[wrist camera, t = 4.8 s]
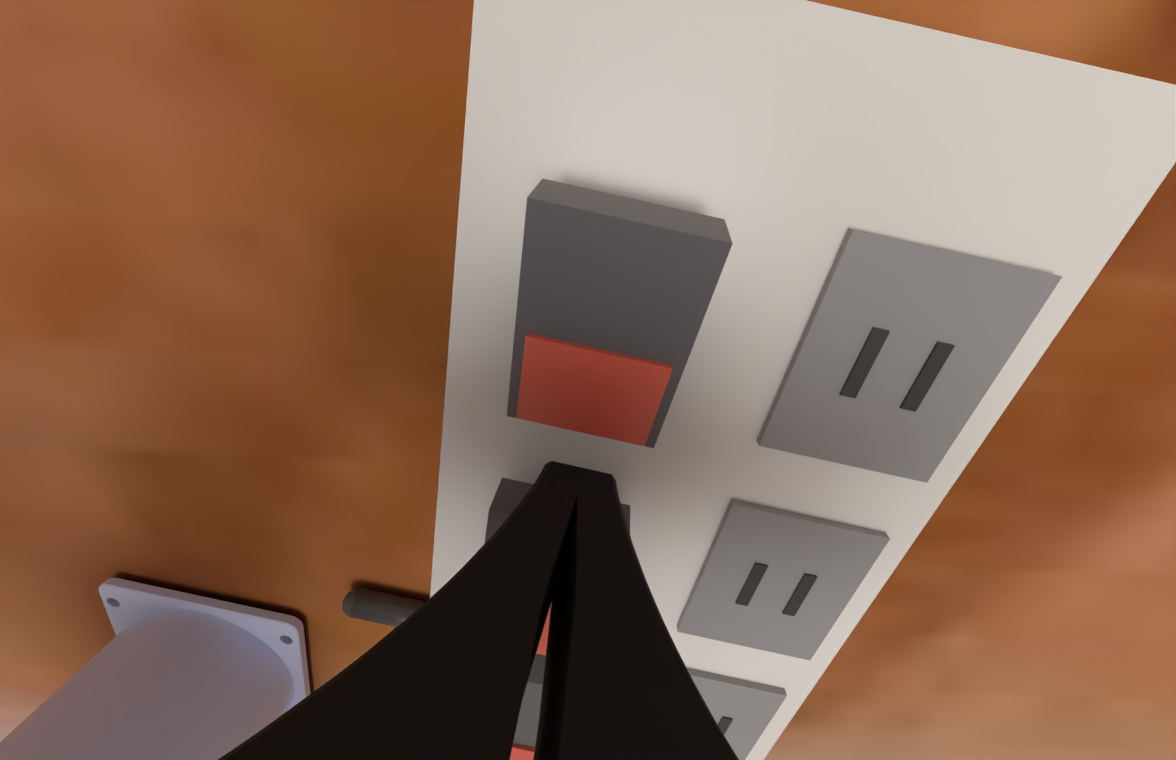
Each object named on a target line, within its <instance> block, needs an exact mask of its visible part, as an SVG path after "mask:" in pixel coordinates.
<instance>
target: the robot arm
mask: <svg viewBox="0 0 1176 760" xmlns="http://www.w3.org/2000/svg"><path fill="white" fill-rule="evenodd" d="M99 593H100V596H101V598H102V601H103V604H104V606H105V609H106V611H107V614H108V617H109V619H110V622H111V625H112V627H113V630H114V632H115V635H116V637H115V638H113V639H112V640H111V641H110V642H109V643H108V644H107V645H106V646H105V647H104V648H103V649H101V650H100V651H99V652H98V653H97V654H96V655H95V656H94V657H93V658H92V659H91V660H89V661H88V662H87V663H86V664H85V665H84V666H83V667H82V668H81V669H80V670H79V671H77V672H76V673H75V674H74V675H73V676H72V677H71V678H70V679H69V680H68V681H67V682H65V683H64V684H63V685H62V686H61V687H60V688H59V689H58V690H57V691H56V692H55V693H53V694H52V695H51V696H50V697H49V698H48V699H47V700H46V701H45V702H44V703H43V704H41V705H40V706H39V707H38V708H37V709H36V710H35V711H34V712H33V713H32V714H31V715H29V716H28V717H27V718H26V719H25V720H24V721H23V722H22V723H21V724H20V725H19V726H17V727H16V728H15V729H14V730H13V731H12V732H11V733H10V734H9V735H8V736H7V737H5V738H4V739H3V740H2V741H1V742H0V760H510V756H511V751H512V746H513V741H514V736H515V732H516V727H517V722H518V717H519V713H520V708H521V703H522V699H523V696H524V693H525V689H526V686H527V682H528V679H529V676H530V672H531V669H532V666H533V662H534V659H535V655H536V652H537V649H538V645H539V642H540V639H541V635H542V632H543V628H544V625H545V622H546V618H547V615H548V612H549V608H550V605H551V612H550V621H549V631H548V640H547V649H546V659H545V668H544V677H543V687H542V696H541V705H540V715H539V723H538V730H537V737H536V745H535V752H534V757H533V760H739V759H738V757H737V756H736V754H735V752H734V751H733V749H732V747H731V746H730V744H729V743H728V741H727V739H726V738H725V736H724V734H723V733H722V731H721V730H720V728H719V726H718V724H717V723H716V721H715V719H714V717H713V716H712V714H711V712H710V710H709V708H708V707H707V705H706V703H705V701H704V699H703V698H702V696H701V694H700V692H699V690H698V689H697V687H696V685H695V683H694V681H693V679H692V677H691V675H690V674H689V672H688V670H687V668H686V666H685V664H684V662H683V660H682V658H681V656H680V654H679V652H678V650H677V648H676V646H675V644H674V642H673V640H672V638H671V636H670V634H669V632H668V629H667V627H666V625H665V623H664V621H663V619H662V616H661V614H660V612H659V609H658V607H657V605H656V602H655V600H654V598H653V595H652V593H651V591H650V588H649V586H648V583H647V581H646V578H645V576H644V573H643V571H642V568H641V565H640V562H639V560H638V557H637V554H636V551H635V549H634V546H633V543H632V540H631V537H630V534H629V531H628V528H627V525H626V521H625V518H624V515H623V511H622V507H621V504H620V499H619V495H618V490H617V485H616V480H615V478H614V477H613V475H612V474H608V473H604V472H599V471H595V470H591V469H586V468H582V467H577V466H573V465H568V464H564V463H559V462H555V461H550V462H548V463H546V464H545V465H544V467H543V469H542V471H541V473H540V475H539V476H538V478H537V480H536V481H535V483H534V484H533V486H532V487H531V488H530V490H529V491H528V493H527V494H526V495H525V497H524V498H523V499H522V501H521V502H520V503H519V505H518V506H517V507H516V508H515V510H514V511H513V512H512V513H511V514H510V516H509V517H508V518H507V519H506V520H505V522H504V523H503V524H502V525H501V526H500V528H499V529H498V530H497V531H496V532H495V533H494V535H493V536H492V537H491V538H490V539H489V540H488V541H487V542H486V543H485V544H484V545H483V546H482V547H481V548H480V549H479V550H478V552H477V553H476V554H475V555H474V556H473V557H472V558H471V559H470V560H469V561H468V562H467V563H466V564H465V565H464V566H463V567H462V568H461V569H460V570H459V571H458V572H457V573H456V574H455V575H454V576H453V577H452V578H451V579H450V580H449V581H448V582H447V583H446V584H445V585H444V586H443V587H442V588H441V589H439V590H438V591H437V592H436V593H435V594H434V595H433V596H432V597H431V598H430V599H429V600H427V601H426V602H425V603H424V604H423V605H422V606H421V607H420V608H419V609H417V610H416V611H415V612H414V613H413V614H412V615H411V616H409V617H408V618H407V619H406V620H405V621H403V622H402V623H401V624H400V625H399V626H397V627H396V628H395V629H394V630H393V631H391V632H390V633H389V634H388V635H387V636H385V637H384V638H383V639H382V640H381V641H379V642H378V643H377V644H376V645H375V646H373V647H372V648H371V649H370V650H368V651H367V652H366V653H365V654H363V655H362V656H361V657H360V658H358V659H357V660H356V661H354V662H353V663H352V664H351V665H349V666H348V667H347V668H345V669H344V670H343V671H342V672H340V673H339V674H338V675H336V676H335V677H333V678H332V679H331V680H329V681H328V682H327V683H325V684H324V685H322V686H321V687H320V688H318V689H317V690H316V691H314V692H313V693H310V684H309V675H308V665H307V656H306V646H305V637H304V627H303V624H302V622H301V621H300V619H298V618H297V617H295V616H292V615H287V614H283V613H278V612H273V611H269V610H264V609H260V608H255V607H250V606H246V605H241V604H236V603H232V602H227V601H222V600H218V599H213V598H208V597H204V596H199V595H195V594H190V593H185V592H181V591H176V590H171V589H167V588H162V587H157V586H153V585H148V584H143V583H139V582H134V581H129V580H125V579H120V578H109V579H107V580H106V581H105V582H104V583H102V584H101V585H100V586H99ZM551 601H552V603H551Z"/></svg>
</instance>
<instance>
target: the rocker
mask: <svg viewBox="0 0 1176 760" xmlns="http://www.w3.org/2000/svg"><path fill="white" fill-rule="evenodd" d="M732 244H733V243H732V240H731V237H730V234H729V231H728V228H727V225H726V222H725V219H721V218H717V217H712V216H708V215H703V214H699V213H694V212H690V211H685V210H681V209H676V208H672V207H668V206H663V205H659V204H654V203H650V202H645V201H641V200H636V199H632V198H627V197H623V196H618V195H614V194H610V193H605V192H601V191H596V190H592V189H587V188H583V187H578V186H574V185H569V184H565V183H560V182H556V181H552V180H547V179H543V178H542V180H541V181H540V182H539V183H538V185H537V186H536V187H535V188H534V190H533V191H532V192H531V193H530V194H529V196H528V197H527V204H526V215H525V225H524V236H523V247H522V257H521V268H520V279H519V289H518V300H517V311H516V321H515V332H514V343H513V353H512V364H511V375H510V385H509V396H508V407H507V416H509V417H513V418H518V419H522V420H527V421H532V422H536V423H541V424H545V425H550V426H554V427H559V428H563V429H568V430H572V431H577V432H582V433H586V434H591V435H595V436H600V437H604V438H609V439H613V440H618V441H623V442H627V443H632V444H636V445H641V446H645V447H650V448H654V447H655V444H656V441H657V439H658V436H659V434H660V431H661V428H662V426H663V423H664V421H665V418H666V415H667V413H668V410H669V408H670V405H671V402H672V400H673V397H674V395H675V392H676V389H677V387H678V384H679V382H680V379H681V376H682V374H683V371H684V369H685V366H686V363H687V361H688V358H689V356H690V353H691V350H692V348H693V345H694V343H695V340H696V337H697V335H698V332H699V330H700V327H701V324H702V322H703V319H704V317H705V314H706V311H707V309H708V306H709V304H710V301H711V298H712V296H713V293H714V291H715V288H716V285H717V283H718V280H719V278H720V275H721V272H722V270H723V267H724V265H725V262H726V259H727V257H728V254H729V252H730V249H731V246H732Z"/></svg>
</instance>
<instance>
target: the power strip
mask: <svg viewBox="0 0 1176 760" xmlns="http://www.w3.org/2000/svg"><path fill="white" fill-rule="evenodd" d="M1175 162H1176V85H1174V84H1169V83H1165V82H1161V81H1156V80H1152V79H1148V78H1143V77H1139V76H1134V75H1130V74H1126V73H1121V72H1117V71H1112V70H1108V69H1104V68H1099V67H1095V66H1091V65H1086V64H1082V63H1077V62H1073V61H1069V60H1064V59H1060V58H1056V57H1051V56H1047V55H1042V54H1038V53H1034V52H1029V51H1025V50H1021V49H1016V48H1012V47H1007V46H1003V45H999V44H994V43H990V42H986V41H981V40H977V39H972V38H968V37H964V36H959V35H955V34H951V33H946V32H942V31H937V30H933V29H929V28H924V27H920V26H916V25H911V24H907V23H902V22H898V21H894V20H889V19H885V18H881V17H876V16H872V15H867V14H863V13H859V12H854V11H850V10H845V9H841V8H837V7H832V6H828V5H824V4H819V3H815V2H810V1H806V0H474V9H473V22H472V36H471V49H470V63H469V76H468V90H467V104H466V117H465V131H464V144H463V158H462V171H461V185H460V198H459V212H458V225H457V239H456V253H455V266H454V280H453V293H452V307H451V320H450V334H449V347H448V361H447V374H446V388H445V402H444V415H443V429H442V442H441V456H440V469H439V483H438V496H437V510H436V523H435V537H434V551H433V564H432V578H431V591H430V598H431V597H432V596H433V595H434V594H435V593H436V592H437V591H438V590H439V589H441V588H442V587H443V586H444V585H445V584H446V583H447V582H448V581H449V580H450V579H451V578H452V577H453V576H454V575H455V574H456V573H457V572H458V571H459V570H460V569H461V568H462V567H463V566H464V565H465V564H466V563H467V562H468V561H469V560H470V559H471V558H472V557H473V556H474V555H475V554H476V553H477V552H478V550H479V549H480V548H481V547H482V546H483V545H484V543H485V535H486V528H487V520H488V513H489V508H490V506H491V503H492V501H493V498H494V496H495V494H496V491H497V489H498V486H499V484H500V481H501V479H502V477H503V478H507V479H512V480H517V481H521V482H526V483H530V484H534V483H535V481H536V480H537V478H538V476H539V475H540V473H541V471H542V469H543V467H544V465H545V464H546V463H548V462H550V461H555V462H559V463H564V464H568V465H573V466H577V467H582V468H586V469H591V470H595V471H599V472H604V473H608V474H612V475H613V477H614V478H615V480H616V485H617V490H618V495H619V499H620V503H622V504H626V505H630V537H631V540H632V543H633V546H634V549H635V551H636V554H637V557H638V560H639V562H640V565H641V568H642V571H643V573H644V576H645V578H646V581H647V583H648V586H649V588H650V591H651V593H652V595H653V598H654V600H655V602H656V605H657V607H658V609H659V612H660V614H661V616H662V619H663V621H664V623H665V625H666V627H667V629H668V632H669V634H670V636H671V638H672V640H673V642H674V644H675V646H676V648H677V650H678V652H679V654H680V656H681V658H682V660H683V662H684V664H685V666H686V668H687V670H688V672H689V674H690V675H691V677H692V679H693V681H694V683H695V685H696V687H697V689H698V690H699V692H700V694H701V696H702V698H703V699H704V701H705V703H706V705H707V707H708V708H709V710H710V712H711V714H712V716H713V717H714V719H715V721H716V723H717V724H718V726H719V728H720V730H721V731H722V733H723V734H724V736H725V738H726V739H727V741H728V743H729V744H730V746H731V747H732V749H733V751H734V752H735V754H736V756H737V757H738V759H739V760H763V759H764V758H765V757H766V755H767V754H768V752H769V751H770V749H771V748H772V746H773V745H774V744H775V742H776V741H777V739H778V738H779V736H780V735H781V733H782V732H783V730H784V729H785V728H786V726H787V725H788V723H789V722H790V720H791V719H792V717H793V716H794V715H795V713H796V712H797V710H798V709H799V707H800V706H801V704H802V703H803V702H804V700H805V699H806V697H807V696H808V694H809V693H810V691H811V690H812V688H813V687H814V686H815V684H816V683H817V681H818V680H819V678H820V677H821V675H822V674H823V673H824V671H825V670H826V668H827V667H828V665H829V664H830V662H831V661H832V659H833V658H834V657H835V655H836V654H837V652H838V651H839V649H840V648H841V646H842V645H843V644H844V642H845V641H846V639H847V638H848V636H849V635H850V633H851V632H852V630H853V629H854V628H855V626H856V625H857V623H858V622H859V620H860V619H861V617H862V616H863V615H864V613H865V612H866V610H867V609H868V607H869V606H870V604H871V603H872V601H873V600H874V599H875V597H876V596H877V594H878V593H879V591H880V590H881V588H882V587H883V586H884V584H885V583H886V581H887V580H888V578H889V577H890V575H891V574H892V573H893V571H894V570H895V568H896V567H897V565H898V564H899V562H900V561H901V559H902V558H903V557H904V555H905V554H906V552H907V551H908V549H909V548H910V546H911V545H912V544H913V542H914V541H915V539H916V538H917V536H918V535H919V533H920V532H921V530H922V529H923V528H924V526H925V525H926V523H927V522H928V520H929V519H930V517H931V516H932V515H933V513H934V512H935V510H936V509H937V507H938V506H939V504H940V503H941V501H942V500H943V499H944V497H945V496H946V494H947V493H948V491H949V490H950V488H951V487H952V486H953V484H954V483H955V481H956V480H957V478H958V477H959V475H960V474H961V472H962V471H963V470H964V468H965V467H966V465H967V464H968V462H969V461H970V459H971V458H972V457H973V455H974V454H975V452H976V451H977V449H978V448H979V446H980V445H981V443H982V442H983V441H984V439H985V438H986V436H987V435H988V433H989V432H990V430H991V429H992V428H993V426H994V425H995V423H996V422H997V420H998V419H999V417H1000V416H1001V415H1002V413H1003V412H1004V410H1005V409H1006V407H1007V406H1008V404H1009V403H1010V401H1011V400H1012V399H1013V397H1014V396H1015V394H1016V393H1017V391H1018V390H1019V388H1020V387H1021V386H1022V384H1023V383H1024V381H1025V380H1026V378H1027V377H1028V375H1029V374H1030V372H1031V371H1032V370H1033V368H1034V367H1035V365H1036V364H1037V362H1038V361H1039V359H1040V358H1041V357H1042V355H1043V354H1044V352H1045V351H1046V349H1047V348H1048V346H1049V345H1050V343H1051V342H1052V341H1053V339H1054V338H1055V336H1056V335H1057V333H1058V332H1059V330H1060V329H1061V328H1062V326H1063V325H1064V323H1065V322H1066V320H1067V319H1068V317H1069V316H1070V314H1071V313H1072V312H1073V310H1074V309H1075V307H1076V306H1077V304H1078V303H1079V301H1080V300H1081V299H1082V297H1083V296H1084V294H1085V293H1086V291H1087V290H1088V288H1089V287H1090V286H1091V284H1092V283H1093V281H1094V280H1095V278H1096V277H1097V275H1098V274H1099V272H1100V271H1101V270H1102V268H1103V267H1104V265H1105V264H1106V262H1107V261H1108V259H1109V258H1110V257H1111V255H1112V254H1113V252H1114V251H1115V249H1116V248H1117V246H1118V245H1119V243H1120V242H1121V241H1122V239H1123V238H1124V236H1125V235H1126V233H1127V232H1128V230H1129V229H1130V228H1131V226H1132V225H1133V223H1134V222H1135V220H1136V219H1137V217H1138V216H1139V214H1140V213H1141V212H1142V210H1143V209H1144V207H1145V206H1146V204H1147V203H1148V201H1149V200H1150V199H1151V197H1152V196H1153V194H1154V193H1155V191H1156V190H1157V188H1158V187H1159V185H1160V184H1161V183H1162V181H1163V180H1164V178H1165V177H1166V175H1167V174H1168V172H1169V171H1170V170H1171V168H1172V167H1173V165H1174V164H1175ZM542 178H543V179H547V180H552V181H556V182H560V183H565V184H569V185H574V186H578V187H583V188H587V189H592V190H596V191H601V192H605V193H610V194H614V195H618V196H623V197H627V198H632V199H636V200H641V201H645V202H650V203H654V204H659V205H663V206H668V207H672V208H676V209H681V210H685V211H690V212H694V213H699V214H703V215H708V216H712V217H717V218H721V219H725V222H726V225H727V228H728V231H729V234H730V237H731V240H732V243H733V244H732V246H731V249H730V252H729V254H728V257H727V259H726V262H725V265H724V267H723V270H722V272H721V275H720V278H719V280H718V283H717V285H716V288H715V291H714V293H713V296H712V298H711V301H710V304H709V306H708V309H707V311H706V314H705V317H704V319H703V322H702V324H701V327H700V330H699V332H698V335H697V337H696V340H695V343H694V345H693V348H692V350H691V353H690V356H689V358H688V361H687V363H686V366H685V369H684V371H683V374H682V376H681V379H680V382H679V384H678V387H677V389H676V392H675V395H674V397H673V400H672V402H671V405H670V408H669V410H668V413H667V415H666V418H665V421H664V423H663V426H662V428H661V431H660V434H659V436H658V439H657V441H656V444H655V447H654V448H650V447H645V446H641V445H636V444H632V443H627V442H623V441H618V440H613V439H609V438H604V437H600V436H595V435H591V434H586V433H582V432H577V431H572V430H568V429H563V428H559V427H554V426H550V425H545V424H541V423H536V422H532V421H527V420H522V419H518V418H513V417H509V416H507V407H508V396H509V385H510V375H511V364H512V353H513V343H514V332H515V321H516V311H517V300H518V289H519V279H520V268H521V257H522V247H523V236H524V225H525V215H526V204H527V197H528V196H529V194H530V193H531V192H532V191H533V190H534V188H535V187H536V186H537V185H538V183H539V182H540V181H541V180H542ZM424 603H425V601H420V600H416V599H411V598H406V597H402V596H397V595H393V594H388V593H383V592H379V591H374V590H369V589H365V588H356V589H354V590H352V591H350V592H349V593H348V594H347V595H346V596H345V598H344V600H343V611H344V612H345V614H346V615H348V616H349V617H353V618H357V619H362V620H366V621H371V622H376V623H380V624H385V625H390V626H394V627H397V626H399V625H400V624H401V623H402V622H403V621H405V620H406V619H407V618H408V617H409V616H411V615H412V614H413V613H414V612H415V611H416V610H417V609H419V608H420V607H421V606H422V605H423V604H424Z"/></svg>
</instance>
